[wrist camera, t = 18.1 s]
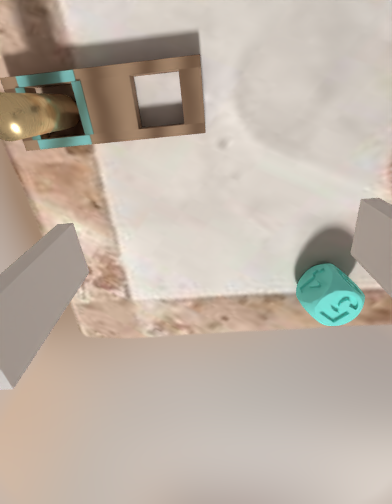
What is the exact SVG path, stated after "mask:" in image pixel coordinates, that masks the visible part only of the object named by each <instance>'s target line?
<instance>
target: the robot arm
mask: <svg viewBox="0 0 392 504" xmlns="http://www.w3.org/2000/svg"><path fill="white" fill-rule="evenodd" d="M350 254H351V255H352V256H353V257H354V258H355V259H356V260H357V261H358V262H359V263H360V264H361V266H362V267H363V268H364V269H365V270H366V271H367V272H368V273H369V274H370V275H371V276H372V277H373V278H374V279H375V280H376V281H377V282H378V284H379V285H380V286H381V287H382V288H383V289H384V290H385V291H386V292H387V293H388V294H389V295H390V296H391V297H392V205H391V204H389V203H387V202H385V201H384V200H382V199H380V198H371V199H361V202H360V207H359V212H358V217H357V222H356V227H355V232H354V237H353V243H352V248H351V253H350ZM88 273H89V270H88V267H87V264H86V261H85V258H84V255H83V252H82V249H81V246H80V243H79V240H78V237H77V234H76V230H75V227H74V224H73V223H69V224H57V225H56V226H55V227H54V228H53V229H52V230H50V231H49V232H48V233H47V234H46V235H45V236H44V237H42V238H41V239H40V240H39V241H38V242H37V243H36V244H35V245H33V246H32V247H31V248H30V249H29V250H28V251H26V252H25V253H24V254H23V255H22V256H21V257H19V258H18V259H17V260H16V261H15V262H14V263H13V264H11V265H10V266H9V267H8V268H7V269H6V270H5V271H4V272H2V273H1V274H0V390H2V389H14V387H15V386H16V384H17V383H18V381H19V379H20V378H21V376H22V375H23V373H24V372H25V370H26V369H27V367H28V366H29V364H30V363H31V361H32V359H33V358H34V356H35V355H36V353H37V351H38V350H39V349H40V347H41V346H42V344H43V343H44V341H45V339H46V338H47V336H48V335H49V333H50V332H51V330H52V329H53V327H54V326H55V324H56V323H57V321H58V320H59V318H60V316H61V315H62V313H63V312H64V310H65V309H66V307H67V306H68V304H69V303H70V301H71V300H72V298H73V297H74V295H75V293H76V292H77V290H78V289H79V287H80V286H81V284H82V283H83V281H84V280H85V278H86V277H87V275H88Z"/></svg>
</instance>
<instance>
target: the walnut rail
mask: <svg viewBox="0 0 392 504" xmlns="http://www.w3.org/2000/svg"><path fill="white" fill-rule="evenodd" d="M177 71H179V77H180V87H181V96H182V106H183V115H184V123H183V124H173V125H164V126H154V127H144V128H142V124H141V118H140V112H139V107H138V101H137V95H136V89H135V83H134V78H133V77H134V76H142V75H151V74H160V73H168V72H177ZM0 80H1V83H2V85H3V88H4V91H5V93H36V91H35V88H38V87H47V86H56V85H64V84H72V88H73V91H74V95H75V99H76V103H77V106H78V110H79V114H80V118H81V121H82V125H83V129H84V133H85V134H77V135H67V136H57V137H50V135H49V133H46V134H42V135H38V136H33V137H29V138H25V139H22V140H23V142H24V145H25V148H26V151H30V150H40V149H50V148H60V147H70V146H80V145H90V144H100V143H110V142H120V141H130V140H139V139H149V138H159V137H169V136H179V135H189V134H199V133H206V132H205V119H204V105H203V91H202V77H201V64H200V54H199V55H191V56H182V57H174V58H165V59H157V60H148V61H140V62H132V63H123V64H115V65H106V66H98V67H89V68H81V69H73V70H64V71H56V72H47V73H39V74H30V75H22V76H14V77H5V78H0Z"/></svg>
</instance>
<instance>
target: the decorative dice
mask: <svg viewBox="0 0 392 504" xmlns="http://www.w3.org/2000/svg"><path fill="white" fill-rule="evenodd" d="M296 296H297V298H298V300H299V302H300V303H301V305H302V306H303V307H304V308H305V310H306V311H307V312H308V313H309V314H310V315H311V316H312V317H313V318H314V319H316V320H317V321H318V322H320V323H321V324H323V325H328V326H338V325H343V324H346V323H348V322H350V321H352V320H353V319H354V318H355V317H356V316H357V315H358V314H359V313H360V311H361V310H362V307H363V305H364V300H365V295H364V294H363V292H362V291H361V290H360V288H359V287H358V286H357V285H356V284H355V283H354V282H353V281H352V280H351V279H350V278H349V277H348V276H347V275H346V274H344V273H343V272H342V271H341V270H340V269H339V268H337V267H336V266H335V265H333V264H331V263H326V264H319V265H316V266H314V267H312V268H310V269H309V270H307V271H306V272H305V273H304V274H303V275H302V277H301V278H300V280H299V282H298V284H297V288H296Z"/></svg>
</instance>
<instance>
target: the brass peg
mask: <svg viewBox="0 0 392 504" xmlns="http://www.w3.org/2000/svg"><path fill="white" fill-rule="evenodd" d="M79 118H80V114H79V110H78V106H77V104H76V103H75V101H74V100H73V99H72V98H70V97H69V96H67V95H64V94H39V93H1V92H0V139H2V140H5V141H16V140H20V139H25V138H29V137H33V136H38V135H42V134H46V133H51V132H55V131H60V130H64V129H68V128H72V127H74V126H75V125H76V124H77V123H78V121H79Z"/></svg>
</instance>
